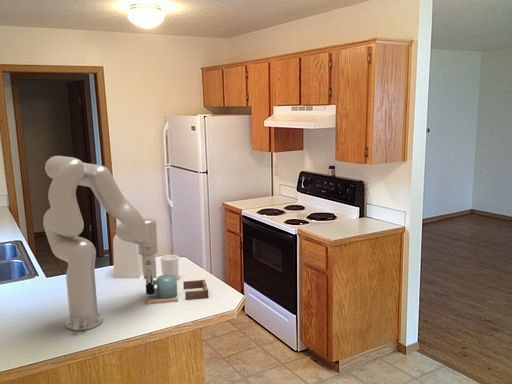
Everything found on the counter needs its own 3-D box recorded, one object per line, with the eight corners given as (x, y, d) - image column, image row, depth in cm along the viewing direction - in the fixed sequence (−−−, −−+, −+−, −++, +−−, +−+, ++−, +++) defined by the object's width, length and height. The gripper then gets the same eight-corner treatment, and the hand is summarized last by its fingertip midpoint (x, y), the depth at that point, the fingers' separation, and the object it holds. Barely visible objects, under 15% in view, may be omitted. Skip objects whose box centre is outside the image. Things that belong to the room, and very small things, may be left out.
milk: (139, 278, 211) (136, 222, 206) (114, 278, 211) (110, 222, 206) (145, 268, 223) (143, 216, 218) (122, 268, 223) (118, 216, 218)
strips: (178, 301, 186) (178, 299, 185) (147, 304, 183) (147, 301, 183) (176, 288, 199) (176, 285, 199) (147, 290, 196) (147, 288, 196)
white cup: (181, 275, 214) (180, 254, 212) (176, 282, 206) (175, 260, 204) (164, 275, 214) (163, 254, 212) (159, 281, 207) (158, 260, 205)
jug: (177, 298, 188) (177, 280, 187) (147, 301, 186) (146, 283, 185) (176, 290, 196) (176, 273, 195) (148, 293, 194) (147, 276, 192)
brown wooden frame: (208, 297, 189) (208, 290, 188) (185, 299, 187) (185, 292, 186) (205, 286, 201) (204, 279, 200) (183, 288, 199) (183, 281, 198)
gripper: (157, 254, 179) (159, 299, 183) (157, 242, 195) (159, 284, 198) (137, 256, 178) (140, 301, 181) (138, 244, 193) (141, 286, 197)
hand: (150, 292), depth 190 cm, fingers closed on jug
